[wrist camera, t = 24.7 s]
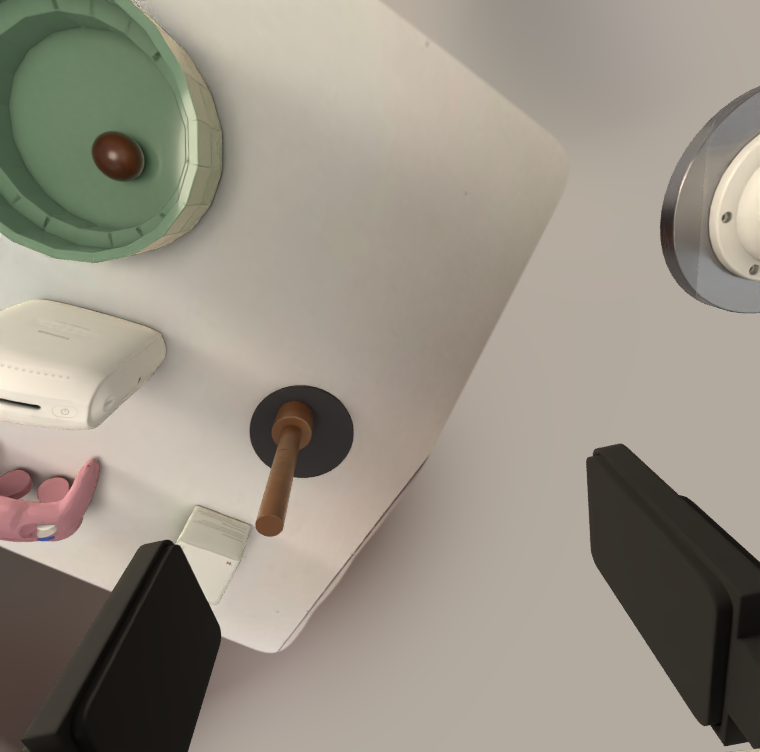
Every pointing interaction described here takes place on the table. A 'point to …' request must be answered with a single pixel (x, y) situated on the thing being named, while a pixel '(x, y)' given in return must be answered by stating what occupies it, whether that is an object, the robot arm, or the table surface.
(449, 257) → the table surface
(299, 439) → the pestle
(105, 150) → the chestnut
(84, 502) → the video game controller
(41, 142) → the bowl
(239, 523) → the small box
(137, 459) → the table surface
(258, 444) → the coaster
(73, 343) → the photo printer
